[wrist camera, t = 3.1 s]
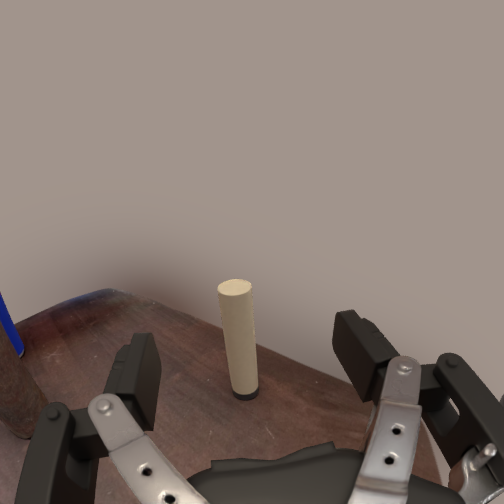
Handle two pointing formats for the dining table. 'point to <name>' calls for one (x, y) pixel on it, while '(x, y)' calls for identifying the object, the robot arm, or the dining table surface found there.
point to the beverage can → (10, 328)
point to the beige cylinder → (239, 336)
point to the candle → (17, 391)
